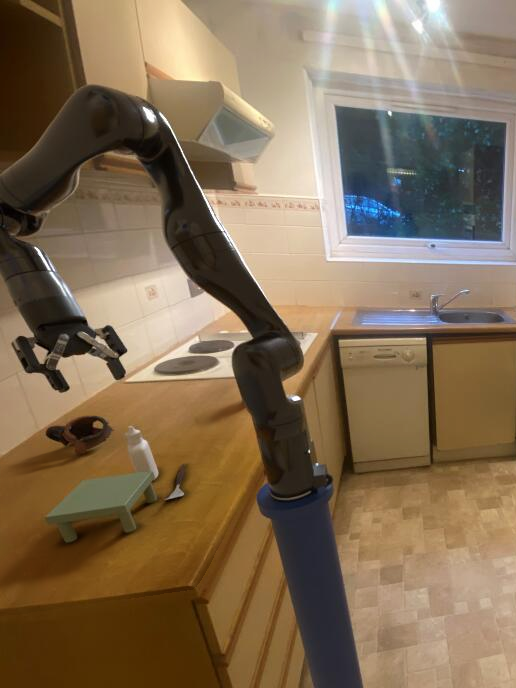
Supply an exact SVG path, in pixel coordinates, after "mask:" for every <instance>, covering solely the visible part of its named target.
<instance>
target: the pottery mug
mask: <svg viewBox="0 0 516 688" xmlns="http://www.w3.org/2000/svg"><path fill="white" fill-rule="evenodd" d="M96 422H100V423H101V424H102V427H97V426H95V427H94V423H96ZM109 424H110V423H109V421H107V420H106V419H105V418H104V417H101V416H98V415H82V416H78V417H75V418H73V419H71V420H70V421H68V422H67V423H66V424H65V425H60V424H59V425H58V424H57V425H52V426H49V427H47V428H46V431H45V436H46V438H48V439H50V440H52V441H55V442H56V443H60V444H62V445H63V446H64V447H67V446H69V444H72V445H74V452H75V453H76V454H82V455H84V454H85V453H86V452H87V450H90V449H92V448H95V447H96V446H98V445H100V444H102V443H104V442H106V441H107V439H108V438H109V437H110V436H111V434H112V432H114V431H115V429H114V428H113V427H112V426H111V425H109Z"/></svg>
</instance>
